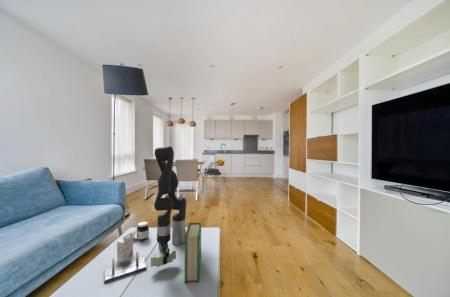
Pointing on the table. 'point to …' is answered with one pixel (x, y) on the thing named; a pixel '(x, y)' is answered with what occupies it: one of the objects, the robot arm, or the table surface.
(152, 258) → the green tabbed block
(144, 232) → the spread jar
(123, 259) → the ink cartridge box
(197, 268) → the hardback book
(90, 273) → the table surface
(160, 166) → the robot arm
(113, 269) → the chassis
